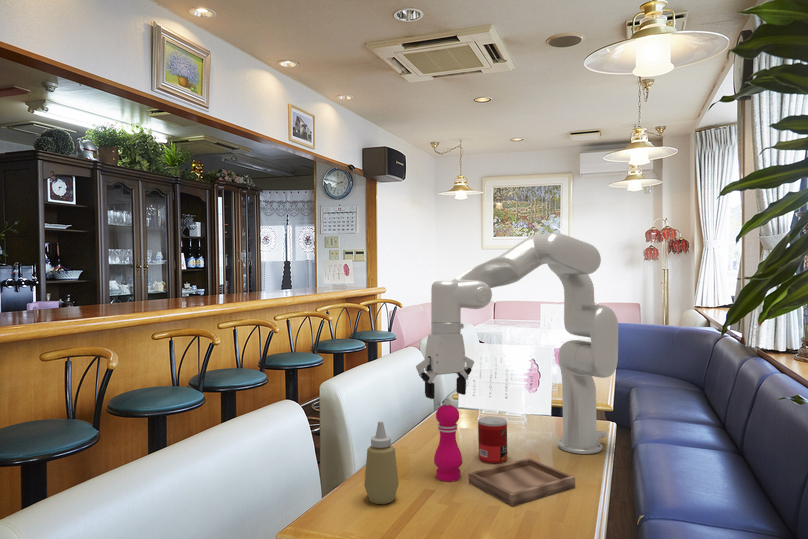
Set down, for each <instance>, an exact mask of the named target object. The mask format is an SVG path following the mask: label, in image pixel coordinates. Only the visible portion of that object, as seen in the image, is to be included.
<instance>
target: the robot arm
mask: <svg viewBox="0 0 808 539" xmlns="http://www.w3.org/2000/svg"><path fill="white" fill-rule="evenodd" d="M601 262H602V258H601V253H600V252H599V250H598V249H597V248H596V247H595V246H594V245H592V244H591V243H588V242H586V241H583V240H580V239H577V238H575V237H572V236H570V235H566V234H563V233H559V232H549V233H539V234H538V233H537V234H533V235H530V236H528V237H527V238H525V239H523V240H522V241H520V242H519V243H517V244H516V245H514V246H513V247H511V248H510V249H508V250H507V251H505V252H504V253H502V254H500V255H499V256H496V257H494V258H492V259H489V260H487V261H485V262H483V263H481V264H478V265H476V266H474V267H472V268H470V269H468V270H465V271H464V272H462V273H461V274H460V275H458V276H457V277H455V278H453V279H452V280H437V281H434V282H433V283H432V284H431V289H430V290H431V291H430V292H431V296H430V297H431V298H430V299H431V302H430V303H431V307H430V308H431V309H430V310H431V312H430V314H431V317H430V318H431V322H430V323H431V324H430V325H431V328H430V334H428V336H427V338H426V345H425V352H424V353H425V354H424V359H423V360H422V361H421V362H419V363H418V364H416V366H415V369H416V371H417V373H418V376H419V377H420V378H421V380H422V382H424V395H425V398H428V399H431V400H434V399H435V388H436V387H435V382H434V380H435V379H436V377H437V376H438V375H439V376H441V375H449V374H456V375H457V377H456V384H455V385H456V388H455V389H456V393H457V394H460V395H463V396H465V395H466V393H467V392H466V390H467V379H469V375H470V373H471V372H472V369H473V367H474V365H475V361H474V360H473V359H472V358H469V357H468V356H466V348H465V341H464V336H463V333H462V332H461V330H463V329H464V328H465V326H464V324H463V323H461V321H462V320H461V319H462V317H461V316H462V314H461V309H463V308H464V309H471V310H479V309H483V308H486V307H487V306H488V305H489V304H490V302H491V301H492V299H493V298H492V297H493V292H492V288H499V287H504V286H508V285H511V284H514V283H517V282H519V281H520V280H521V279H523V278H525V277H526V276H527V275H529V274H530V273H532V272H533V271H535V270H537V269H538V268H539V267H541V266H542V265H547V266H548V268H549V269H550V271H551V272H553V273H554V274H555V276H557V277H558V279H559V280H560V281H561V284H562V287H563V294H564V295H563V296H564V299H563V300H564V301H563V303H564V304H563V321H564V323H563V324H564V328H565V330H566V332H567V333H568V334H570V335H573V336H577V337H583V338H584V337H585V338H590V341H586V340H579V339H574V340H573V339H571V340H567V341H565V342H564V343H562V345H561V346H560V347H559V350H558V363H559V364H558V365H559V368H560V374H561V385H562V386H561V388H562V392H561V393H562V396H561V397H562V438H559V439H558V441H557V446H558V448H559V449H561V450H562V451H566V452H568V453H573V454H580V455H591V454H597V453H600V452H601V451H602V450H603V444H602V443H601V442H600V441H599V440H600V439H602V438H606V437H607V435H608V433H607V431H606V430H600V431H598V430H597V425H598V424H597V388H596V383H595V380H594V378H593V377H595V378H599V379H600V378H601V379H605V378H609V377H611V376H613V374H615V371H616V369H617V367H618V363H619V362H618V360H619V321H618V317H617V315H616V314H615V312H614V310H613V309H612V308H610V307H609V306H606V305H601V304H596V303H595V288H594V284H593V280H592V279H591V276H590V275H591V274H594V273H595V272H596V271H597V270H598V269H599V268H600V266H601Z"/></svg>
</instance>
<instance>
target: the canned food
mask: <svg viewBox="0 0 808 539" xmlns="http://www.w3.org/2000/svg"><path fill="white" fill-rule="evenodd" d="M477 420H478V422H477V433H478V434H477V437H478V438H477V440H478V445H477V446H478V458H479V460H480V461H481V462H483V463H485V462H486V463H485V464H490V463H494V464H493V465H496V464H495V463H500V464H503V463H502V462H504V463H506V461H507V460H508V422H507V419H506V418H503V417H498V416H484V417H482V416H481V417H480V418H478V419H477Z"/></svg>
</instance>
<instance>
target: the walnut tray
mask: <svg viewBox="0 0 808 539" xmlns="http://www.w3.org/2000/svg"><path fill="white" fill-rule="evenodd" d="M468 484H469V485H471V486H473V487H474V488H477V489H479V490H480V491H483V492H485V493H486V494H488V495H490V496H492V497H494V498H495V499H497V498H498V500H500V501H501V502H503V503H505V504H507V505H509V506H511V507H515V506H518V505H522V504H524V503H525V502H526V503H528V501H529V502H532V501H535V500H539V499H541V498H545V497H548V495H549V496H552V495H554V494H559V493H561V492H565V491H568V490H572V489H574V487H575V488H576V477H575V476H573V475H571V474H569V473H565V472H563V471H562V470H558V469H556V468H553V467H551V466H549V465H546V464H544V463H541V462H539V461H537V460H534V459H532V458H529V457H528V458H525V459H524V458H523V459H519V460H515V461H512V462H508V463H502V464H500V465H499V464H498V465H496V466H491V467H487V468H483V469H480V470H476V471H472V472H468ZM571 488H572V489H571ZM526 503H525V504H526Z"/></svg>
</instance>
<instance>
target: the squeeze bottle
mask: <svg viewBox="0 0 808 539" xmlns="http://www.w3.org/2000/svg"><path fill="white" fill-rule="evenodd" d="M375 432H376V433H375V435H374V436H372V437H371V438H370V446H368V448H367V449H366V461H365V463H366V464H365V472H364V473H365V474H364V484H363V486H364V489H365V492H366V494H367V498H368V501H369V502H371V503H372V504H376V505H386V504H390V503H391V502H393V501H395V498H396V494H397V491H398V489H399V484H400V483H399V474H398V466H397V457H396V448H395V447H394V446H393V445H392V442H391V440H392V438H391V436H390V435H387V434H386V429H385V425H384V422H383V421H378V422H377V426H376V430H375Z"/></svg>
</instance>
